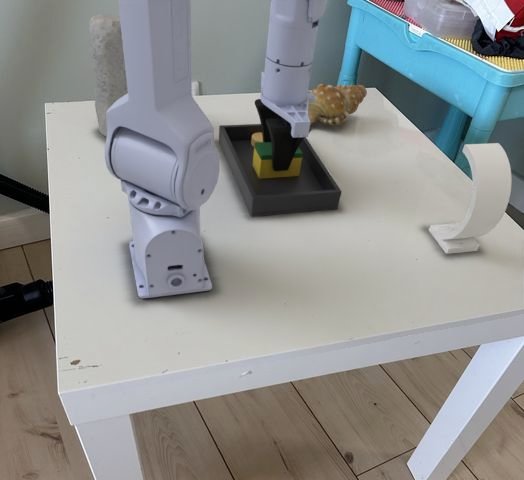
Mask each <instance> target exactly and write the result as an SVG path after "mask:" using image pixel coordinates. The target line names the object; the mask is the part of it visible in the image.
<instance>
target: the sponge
mask: <svg viewBox="0 0 524 480" xmlns="http://www.w3.org/2000/svg"><path fill="white" fill-rule="evenodd" d="M302 155H303V153H302V151H301V150H300V148H299V147H298V148H297V150H296V152H295V155H294V157H293V159H292V162H291V164H290V166H289V169H288V170H286V171H274V170H273V166H272V145H271V142H259V143H255V145H254V155H253V167H254V169H255V171H256V173H257V175H258V177H259V179H262V178H276V177H291V176H299V173H300V167H301V161H302Z"/></svg>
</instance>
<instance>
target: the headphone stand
mask: <svg viewBox="0 0 524 480" xmlns="http://www.w3.org/2000/svg"><path fill="white" fill-rule="evenodd" d="M461 152H462V153H463V154H464V156H465V158H466V159H467V161H468V164H469V167H470V171H471V178H472V179H471V180H472V192H471V199H470V203H469V206H468V210H467V212H466V215H465V216H464V218H463V220H462V221H461V222H452V223H451V222H450V223H439V224H430V226H429V228H428V232H429V234H431V236H432V237H433V238H434V240H435V241H436V242H437V244H438V245H439V247H440V248H441V249H442V250H443V252H444V253H445V254H446V255H449V254H459V253H460V254H461V253H469V252H477V251H479V248H480V244H479V243H478V242H477V240H476V239H475V238H479V237H483V236H485V235H487V234H489V233H490V232H491V231H493V230H494V229H495V228H496V227H497V225H498V224H499V223H500V221H502V218H503V217H504V215H505V213H506V211H507V208H508V205H509V201H510V197H511V192H512V169H511V168H512V167H511V164H510V160H509V157H508V155H507V153H506V151H505V149H504V148H503V146H502V145H501V144H500V143H499V142H493V143H489V142H487V143H466V144H464V146H463V148H462V151H461Z"/></svg>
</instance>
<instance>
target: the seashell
mask: <svg viewBox="0 0 524 480" xmlns="http://www.w3.org/2000/svg"><path fill="white" fill-rule="evenodd" d="M311 92H312V93H313V94H314V96H315V102H314V103H308V118H309V120H310V122H311V123H310V125H311V126H312V125H313V124H314V123H317V122H322V123H323V124H324V125H329V126H339V125H344V124H345V122H346V120H347V119H348V118H349V115H352V114H354V113H356V111H358V109H359V105H360V104H361V103H363V101H364V99H365V97H366V96H367V94H368V92H367V88H366V87H365V86H364V85H362V84H357V85H355V84H348V85H346V84H343V85H341V84H337V86H333V85H331V84H327V85H326V84H325V83H320V84H318V85H317V86H316V87H314V88H313V89H312V90H311Z"/></svg>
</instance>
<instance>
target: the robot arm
mask: <svg viewBox="0 0 524 480" xmlns="http://www.w3.org/2000/svg"><path fill="white" fill-rule="evenodd" d="M117 3H118V5H117V6H118V11H119V17H120V23H121V33H122V42H123V51H124V61H125V70H126V79H127V88H128V93H127V94H126V95H124V96H123V97H121V98H119V99H118V100H117V101H116V102H115V103H114V104H113V105H112V106H111V107H110V108H109V109H108V110H107V112H106V117H107V127H108V129H107V137H106V139H105V145H104V161H105V165H106V168H107V171H108V172H109V173H110V174H111V175H112V176H113V177H114V178H116V179H117V180H120V187H121V191H122V192H123V193H125V194H126V195H127V200H128V207H129V217H130V224H131V230H132V231H131V232H132V240H131V241H129V243H128V247H129V251H130V252H129V253H130V257H131V262H132V268H133V275H134V279H135V285H136V290H137V296H138V298H140V299H150V298H158V297H168V296H174V295H175V296H176V295H182V294H190V293H191V294H192V293H199V292H207V291H211V290H212V289H213V284H212V281H211V277H210V274H209V270H208V268H207V264H206V261H205V259H204V251H205V250H204V248H205V247H204V242H203V240H202V239H203V238H202V236H201V207H202V206H203V205H204V204H205V203H207V202H208V201H209V199H210V198H211V197H212V194H213V193H214V191H215V189H216V187H217V184H218V181H219V176H220V161H219V155H218V152H217V150H216V147H215V140H214V139H215V137H214V135H215V127H214V125H213V124H212V122H211V121H210V120H209V118H208V116H207V115H206V114H205V112H204V111H203V110H202V109H201V107H200V106H199V104H198V103H197V101H196V100H195V98H194V97H193V93H192V87H193V86H192V85H193V83H192V21H191V16H192V15H191V13H192V12H191V0H117ZM327 3H328V0H270V8H269V19H268V30H267V42H266V48H265V49H266V51H265V60H264V61H265V62H264V70H263V71H261V75H260V87H261V89H260V98H257V99H255V100H254V106H255V108H256V111H257V114H258V118H259V122H260V124H261V128H262V136H263V142H271V145H272V166H273V170H274V171H286V170H288V169H289V166H290V164H291V162H292V159H293V157H294V155H295V152H296V150H297V148H298V147H299V145H300V143H301V142H302V140H303V139H304V138H305V137H306V138H308V137H309V135H310V132H311V130H312V124H311V125H310V123H311V122H310V120H309V118H308V103H314V102H315V96H314V94H313V93H312V92H311V91H312V90H311V91H310V90H309V87H310V82H311V81H310V80H311V75H312V66H313V62H314V55H315V49H316V42H317V36H318V30H319V23H320V20H321V19H322V18H324V15H325V12H326V9H327Z"/></svg>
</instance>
